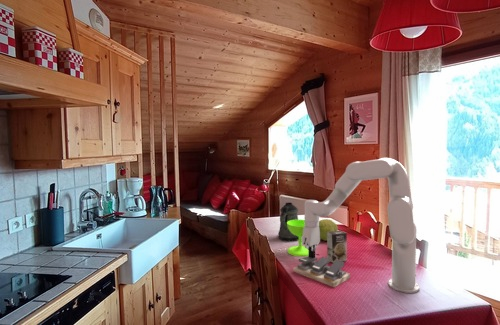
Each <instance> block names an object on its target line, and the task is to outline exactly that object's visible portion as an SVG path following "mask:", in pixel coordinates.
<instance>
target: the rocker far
mask: <svg viewBox="0 0 500 325" xmlns="http://www.w3.org/2000/svg"><path fill="white" fill-rule="evenodd" d="M313 261H315V262H317V261H318V257H316V256H315V258H311V257H309V256H303V257H299V259H298V262H300V263H305V264H307V263H310V262H313Z"/></svg>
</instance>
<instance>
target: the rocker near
mask: <svg viewBox="0 0 500 325" xmlns="http://www.w3.org/2000/svg"><path fill="white" fill-rule="evenodd" d="M329 266H330V268H329V269H328V270H327V271H326V272H325V274H326V275H328V276H331V277H333V278H334V277H335V276H336V275H337V273H338V272H339V271H340V270H342V269H343V267H344V266H345V262H344V261H343V262H340V261H337V260H336V261H335V262H334V263H332V264H331V265H329Z"/></svg>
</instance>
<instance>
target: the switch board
mask: <svg viewBox="0 0 500 325" xmlns="http://www.w3.org/2000/svg"><path fill="white" fill-rule="evenodd" d="M316 262H317V261H313V262H310V263H307V264H305V263H302V262H300V263H299V264H297V266H294V267H293V272H294V273H297V274H299V275H301V276H304V277H307V278H309V279H311V280H314V281H317V282H320V283H322V284H325V285H327V286H330V287H333V288H336V287H337V286H339V285H341V284H342V283H344V282H345V281H348V280H349V279H350V278H351V273H349V272H347V271H345V270H342V269H341V270H340V271H339V272H338V273H337V275H336V276H335V277H334V278H333V277H331V276H328V275H326V274H325V272H326V271H327V270H328V269H329V268H330V266H331V265H328V264H327V265H326V266H325V267H324V268H323V269H322V270H321V271H320V272H319V271H316V270H313V269H312V268H311V267H312V266H313V265H314V264H315V263H316Z"/></svg>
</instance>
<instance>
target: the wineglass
mask: <svg viewBox="0 0 500 325" xmlns="http://www.w3.org/2000/svg"><path fill="white" fill-rule="evenodd" d="M304 226H305V219H298V220H290V221H288V222H287V227H288V229H289V230H290V232H291V233H292V234H294V235H296V236H299V240H298V245H293V246H290V247H288V248H287V252H286V253H288V254H289V255H292V257H293V256H294V257H308V256H309V250H308V249H306V248H305V245H303V243H302V238H303V229H304Z"/></svg>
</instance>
